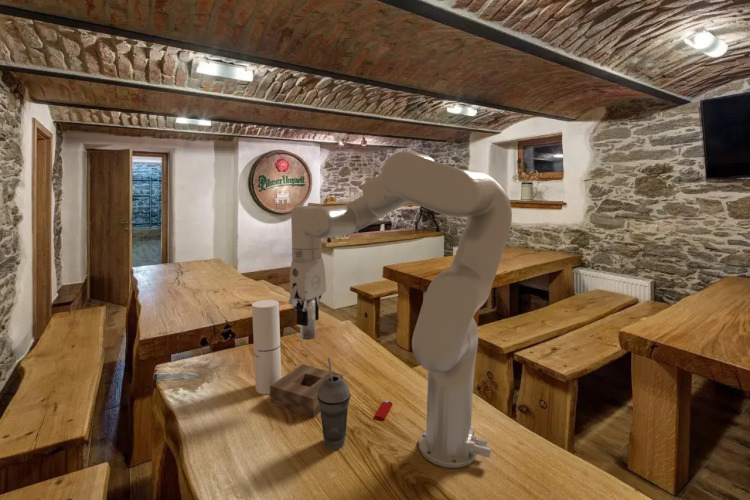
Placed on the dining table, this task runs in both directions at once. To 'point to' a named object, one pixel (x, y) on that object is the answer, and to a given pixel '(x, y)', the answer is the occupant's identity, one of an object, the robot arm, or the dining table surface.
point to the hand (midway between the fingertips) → (307, 321)
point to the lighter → (383, 410)
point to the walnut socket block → (300, 389)
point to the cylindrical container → (266, 344)
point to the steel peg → (309, 322)
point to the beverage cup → (333, 410)
